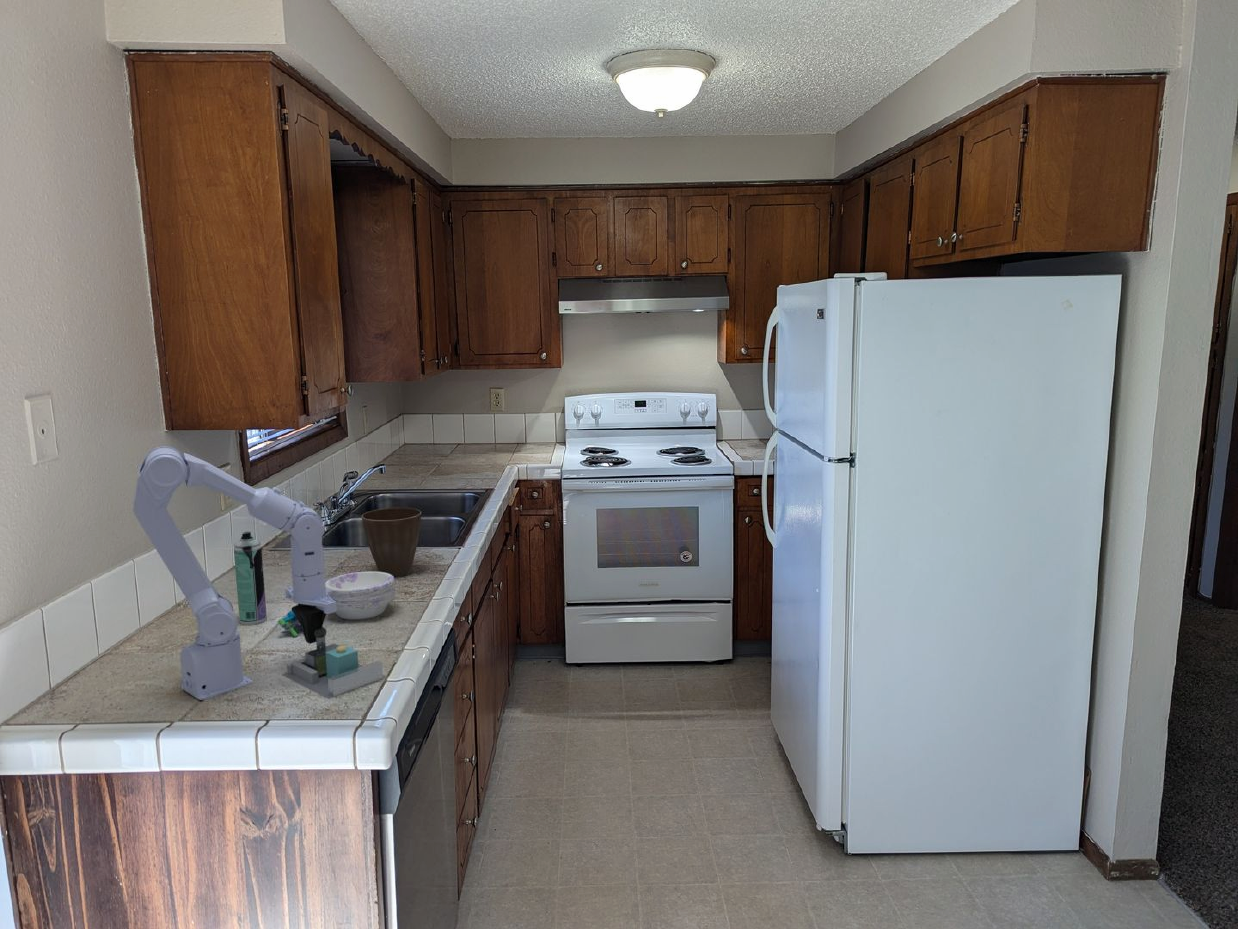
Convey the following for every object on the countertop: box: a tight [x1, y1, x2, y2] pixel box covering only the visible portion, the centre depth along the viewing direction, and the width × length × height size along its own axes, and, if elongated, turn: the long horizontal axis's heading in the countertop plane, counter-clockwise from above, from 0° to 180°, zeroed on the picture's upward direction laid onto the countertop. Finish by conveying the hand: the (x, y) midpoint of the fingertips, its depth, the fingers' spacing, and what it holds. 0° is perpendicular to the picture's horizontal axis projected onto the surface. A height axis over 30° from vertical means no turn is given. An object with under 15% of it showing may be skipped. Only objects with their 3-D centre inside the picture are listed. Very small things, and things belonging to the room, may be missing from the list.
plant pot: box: [361, 507, 422, 578], centre depth 219 cm, size 15×15×16 cm
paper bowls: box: [325, 570, 396, 621], centre depth 189 cm, size 15×15×8 cm
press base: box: [281, 658, 388, 700], centre depth 155 cm, size 12×16×3 cm
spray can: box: [233, 531, 267, 626], centre depth 184 cm, size 6×6×20 cm
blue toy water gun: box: [277, 610, 300, 638], centre depth 179 cm, size 11×6×10 cm
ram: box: [304, 627, 340, 677], centre depth 157 cm, size 6×4×8 cm, turn 140°
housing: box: [326, 645, 359, 681], centre depth 153 cm, size 4×4×6 cm
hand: (313, 641), depth 159 cm, fingers closed
